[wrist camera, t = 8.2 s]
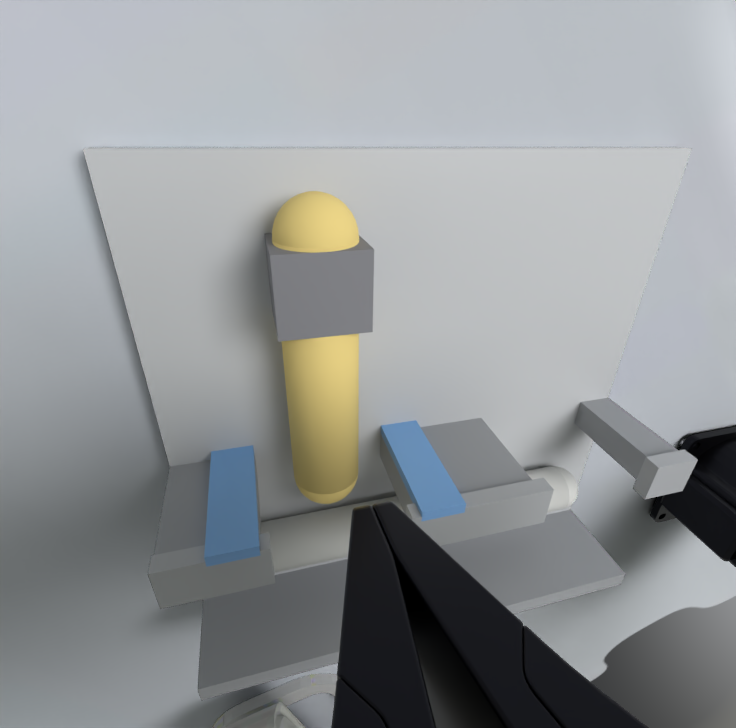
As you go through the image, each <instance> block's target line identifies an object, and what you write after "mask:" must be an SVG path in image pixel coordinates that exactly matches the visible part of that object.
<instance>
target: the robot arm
mask: <svg viewBox="0 0 736 728" xmlns="http://www.w3.org/2000/svg"><path fill="white" fill-rule="evenodd" d="M680 450H686V451H687V452H688V453H690V454H691V455H692V456H694V457H695V458H696V459H698V461H697V463H696V465H695V467H694V469H693V471H692V473H691V475H690V477H689V479H688V481H687V483H686V485H685V487H684V489H683V491H680V492H676V493H672V494H667V495H663V496H658V498H657V500H656V502H655V504H654V506H653V509H652V511H651V513H650V516H651V517H652V518H653V519H654V520H655V521H656V522H662V521H666V520H670V519H674V518H677V519H678V520H679V521H680V522H681V523H682V524H683V525H684V526H686V527H687V528H688V529H689V530H690V531H691V532H692V533H693V534H694V535H695V536H697V537H698V538H699V539H700V540H701V541H702V542H703V543H704V544H705V545H706V546H708V547H709V548H710V549H711V550H712V551H713V552H714V553H715V554H716V555H717V556H719V557H720V558H721V559H722V560H724V561H729V562H730V563H731V564H733V565H734V566H735V567H736V427H731V428H725V429H720V430H715V431H710V432H704V433H699V434H694V435H691V436H689V437H688V438H687V439H686V440H685V441H684V442H683V444H682V446H681V448H680ZM331 728H648V727H647V726H646V725H645V724H643V723H642V722H641V721H639V720H638V719H637V718H635V717H634V716H633V715H632V714H630V713H629V712H628V711H627V710H625V709H624V708H623V707H621V706H620V705H619V704H618V703H616V702H615V701H614V700H612V699H611V698H610V697H609V696H607V695H606V694H605V693H603V692H602V691H601V690H600V689H598V688H597V687H596V686H595V685H594V684H592V683H591V682H590V681H589V680H587V679H586V678H585V677H584V676H582V675H581V674H580V673H579V672H577V671H576V670H575V669H574V668H573V667H571V666H570V665H569V664H568V663H567V662H566V661H564V660H563V659H562V658H561V657H560V656H559V655H558V654H557V653H555V652H554V651H553V650H552V649H551V648H550V647H549V646H548V645H546V644H545V643H544V642H543V641H542V640H541V639H540V638H539V637H538V636H537V635H535V634H534V633H533V632H532V631H531V630H530V629H529V628H528V627H527V626H523V623H522V622H521V621H520V620H519V619H518V618H517V617H516V616H515V615H514V614H513V613H512V612H511V611H509V610H508V609H507V608H506V607H505V606H504V605H503V604H502V603H501V602H500V601H499V600H498V599H497V598H495V597H494V596H493V595H492V594H491V593H490V592H489V591H488V590H487V589H486V588H485V587H484V586H483V585H481V584H480V583H479V582H478V581H477V580H476V579H475V578H474V577H473V576H472V575H471V574H470V573H469V572H467V571H466V570H465V569H464V568H463V567H462V566H461V565H460V564H459V563H458V562H457V561H456V560H454V559H453V558H452V557H451V556H450V555H449V554H448V553H447V552H446V551H445V550H444V549H443V548H442V547H440V546H439V545H438V544H437V543H436V542H435V541H434V540H433V539H432V538H431V537H430V536H429V535H428V534H426V533H425V532H424V531H423V530H422V529H421V528H420V527H419V526H418V525H417V524H416V523H415V522H414V521H412V520H411V519H410V518H409V517H408V516H407V515H406V514H405V513H404V512H403V511H402V510H401V509H399V508H398V507H397V506H396V505H395V504H394V503H393V502H391V501H386V502H381V503H376V504H373V505H372V506H371V505H365V506H360V507H355V508H354V509H353V510H352V517H351V528H350V539H349V550H348V561H347V572H346V583H345V594H344V605H343V616H342V627H341V638H340V649H339V660H338V671H337V681H336V690H335V701H334V711H333V719H332V727H331Z"/></svg>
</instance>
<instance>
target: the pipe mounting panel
mask: <svg viewBox="0 0 736 728" xmlns="http://www.w3.org/2000/svg"><path fill="white" fill-rule="evenodd" d="M691 150H692V148H681V147H89V148H85V149H83V151H84V155H85V159H86V162H87V166H88V170H89V173H90V177H91V181H92V184H93V188H94V192H95V195H96V199H97V203H98V206H99V210H100V214H101V217H102V221H103V225H104V228H105V232H106V236H107V239H108V243H109V246H110V250H111V254H112V257H113V261H114V265H115V268H116V272H117V276H118V279H119V283H120V287H121V290H122V294H123V298H124V301H125V305H126V309H127V312H128V316H129V320H130V323H131V327H132V331H133V334H134V338H135V342H136V345H137V349H138V352H139V356H140V360H141V363H142V367H143V371H144V374H145V378H146V382H147V385H148V389H149V393H150V396H151V400H152V404H153V407H154V411H155V415H156V418H157V422H158V426H159V429H160V433H161V437H162V440H163V444H164V448H165V451H166V455H167V458H168V462H169V466H170V468H169V474H168V479H167V485H166V490H165V495H164V501H163V506H162V512H161V517H160V523H159V528H158V534H157V539H156V545H155V550H154V555H152V556H151V559H150V564H149V570H148V577H149V579H150V582H151V585H152V588H153V590H154V593H155V596H156V599H157V601H158V604H159V607H160V609H164V608H168V607H173V606H177V605H182V604H186V603H190V602H195V601H199V600H203V611H202V626H201V642H200V658H199V674H198V693H199V696H200V698H201V700H205V699H209V698H212V697H216V696H220V695H223V694H227V693H230V692H234V691H238V690H241V689H245V688H248V687H252V686H256V685H259V684H263V683H266V682H270V681H274V680H277V679H281V678H285V677H288V676H292V675H295V674H299V673H303V672H306V671H310V670H313V669H317V668H321V667H324V666H328V665H332V664H335V663H338V660H339V649H340V638H341V627H342V616H343V605H344V594H345V583H346V572H347V561H348V550H349V539H350V528H351V517H352V510H353V509H354V508H355V507H360V506H365V505H371V506H372V505H373V504H376V503H381V502H386V501H391V502H393V503H394V504H395V505H396V506H397V507H398V508H399V509H401V510H402V511H403V512H404V513H405V514H406V515H407V516H408V517H409V518H410V519H411V520H412V521H414V522H415V523H416V524H417V525H418V526H419V527H420V528H421V529H422V530H423V531H424V532H425V533H426V534H428V535H429V536H430V537H431V538H432V539H433V540H434V541H435V542H436V543H437V544H438V545H439V546H440V547H442V548H443V549H444V550H445V551H446V552H447V553H448V554H449V555H450V556H451V557H452V558H453V559H454V560H456V561H457V562H458V563H459V564H460V565H461V566H462V567H463V568H464V569H465V570H466V571H467V572H469V573H470V574H471V575H472V576H473V577H474V578H475V579H476V580H477V581H478V582H479V583H480V584H481V585H483V586H484V587H485V588H486V589H487V590H488V591H489V592H490V593H491V594H492V595H493V596H494V597H495V598H497V599H498V600H499V601H500V602H501V603H502V604H503V605H504V606H505V607H506V608H507V609H508V610H509V611H511V612H512V613H513V614H516V613H519V612H523V611H527V610H530V609H534V608H537V607H541V606H545V605H548V604H552V603H556V602H559V601H563V600H566V599H570V598H574V597H577V596H581V595H584V594H588V593H592V592H595V591H599V590H602V589H606V588H610V587H613V586H617V585H621V583H622V580H623V578H624V576H625V572H624V571H623V570H622V569H621V568H620V567H619V565H618V564H617V563H616V562H615V561H614V560H613V558H612V557H611V556H610V555H609V554H608V553H607V551H606V550H605V549H604V548H603V547H602V546H601V544H600V543H599V542H598V541H597V540H596V539H595V537H594V536H593V535H592V534H591V533H590V532H589V530H588V529H587V528H586V527H585V526H584V525H583V523H582V522H581V521H580V520H579V519H578V518H577V516H576V515H575V514H574V513H573V512H572V511H571V506H572V504H573V503H574V502H575V500H576V498H577V496H578V486H579V483H580V480H581V477H582V474H583V471H584V468H585V465H586V462H587V459H588V456H589V453H590V450H591V447H592V444H593V441H594V442H596V443H597V444H598V445H599V446H600V447H601V448H602V449H603V450H604V451H605V452H607V453H608V454H609V455H610V456H611V457H612V458H613V459H614V460H615V461H617V462H618V463H619V464H620V465H621V466H622V467H623V468H624V469H625V470H627V471H628V472H629V473H630V474H631V475H632V476H633V477H634V478H635V479H636V482H635V484H634V487H633V489H634V490H635V491H636V492H637V493H638V494H639V495H640V496H641V497H643V498H644V499H649V498H654V497H658V496H663V495H667V494H672V493H676V492H680V491H683V489H684V487H685V485H686V483H687V481H688V479H689V477H690V475H691V473H692V471H693V469H694V467H695V465H696V463H697V461H698V459H696V458H695V457H694V456H692V455H691V454H690V453H688V452H687V451H686V450H679V451H678V450H677V449H676V448H674V447H673V446H672V445H670V444H669V443H668V442H666V441H665V440H664V439H662V438H661V437H660V436H658V435H657V434H656V433H654V432H653V431H652V430H650V429H649V428H648V427H646V426H645V425H644V424H643V423H641V422H640V421H639V420H637V419H636V418H635V417H633V416H632V415H631V414H629V413H628V412H627V411H625V410H624V409H623V408H621V407H620V406H619V405H617V404H616V403H615V402H613V401H612V400H611V399H609V398H608V397H609V394H610V391H611V388H612V385H613V382H614V379H615V376H616V373H617V370H618V367H619V364H620V361H621V358H622V355H623V352H624V349H625V346H626V343H627V340H628V337H629V334H630V331H631V328H632V325H633V323H634V320H635V317H636V314H637V311H638V308H639V305H640V302H641V299H642V296H643V293H644V290H645V287H646V284H647V281H648V278H649V275H650V272H651V269H652V266H653V263H654V260H655V257H656V254H657V251H658V248H659V245H660V242H661V239H662V236H663V234H664V231H665V228H666V225H667V222H668V219H669V216H670V213H671V210H672V207H673V204H674V201H675V198H676V195H677V192H678V189H679V186H680V183H681V180H682V177H683V174H684V171H685V168H686V165H687V162H688V159H689V156H690V153H691ZM308 191H320V192H324V193H328V194H331V195H333V196H335V197H336V198H338V199H340V200H341V201H342V202H343V203H344V204H346V206H347V207H348V208H349V210H350V211H351V212H352V214H353V216H354V218H355V220H356V223H357V226H358V231H359V235H360V236H361V237H362V238H363V239H364V240H365V241H366V242H367V243H368V244H369V245H370V246H371V247H372V248H373V249H374V288H373V332H369V333H359V444H358V478H357V481H356V484H355V486H354V488H353V489H352V491H351V492H350V493H349V494H348V495H347V496H346V497H345V498H343V499H342V500H340V501H337V502H335V503H331V504H320V503H316V502H313V501H311V500H309V499H308V498H306V497H305V496H304V495H303V494H302V493H301V492H300V490H299V488H298V487H297V485H296V482H295V478H294V470H293V459H292V448H291V437H290V427H289V416H288V405H287V394H286V384H285V373H284V362H283V351H282V341H281V342H278V338H277V333H276V328H275V323H274V317H273V312H272V305H271V295H270V286H269V276H268V266H267V256H266V246H265V236H264V234H266V233H272V228H273V223H274V220H275V217H276V215H277V213H278V211H279V210H280V208H281V207H282V206H283V205H284V204H285V203H286V202H287V201H288V200H289V199H290V198H292V197H294V196H296V195H297V194H300V193H304V192H308Z"/></svg>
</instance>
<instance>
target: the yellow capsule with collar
mask: <svg viewBox="0 0 736 728" xmlns="http://www.w3.org/2000/svg"><path fill="white" fill-rule="evenodd" d="M264 236H265V246H266V256H267V266H268V276H269V286H270V295H271V305H272V312H273V317H274V323H275V328H276V333H277V338H278V342H281V341H282V351H283V362H284V373H285V384H286V394H287V405H288V416H289V427H290V437H291V448H292V459H293V470H294V478H295V482H296V485H297V487H298V488H299V490H300V492H301V493H302V494H303V495H304V496H305V497H306V498H308V499H309V500H311V501H313V502H316V503H320V504H331V503H335V502H337V501H340V500H342V499H343V498H345V497H346V496H347V495H348V494H349V493H350V492H351V491H352V489H353V488H354V486H355V484H356V481H357V478H358V444H359V333H369V332H373V288H374V249H373V248H372V247H371V246H370V245H369V244H368V243H367V242H366V241H365V240H364V239H363V238H362V237H361V236H360V235H359V231H358V226H357V223H356V220H355V218H354V216H353V214H352V212H351V211H350V210H349V208H348V207H347V206H346V204H344V203H343V202H342V201H341V200H340V199H338V198H336V197H335V196H333V195H331V194H328V193H324V192H320V191H308V192H304V193H300V194H297V195H296V196H294V197H292V198H290V199H289V200H288V201H287V202H286V203H285V204H284V205H283V206H282V207H281V208H280V210H279V211H278V213H277V215H276V217H275V220H274V223H273V228H272V233H266V234H264Z"/></svg>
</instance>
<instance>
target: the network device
mask: <svg viewBox="0 0 736 728" xmlns="http://www.w3.org/2000/svg"><path fill="white" fill-rule="evenodd" d="M336 681H337V675H336V674H331V673H320V674H313V675H308V676H304V677H300V678H297V679H295V680H292V681H290V682H287V683H285V684H283V685H281V686H278V687H276V688H274V689H272V690H269V691H267V692H265V693H263V694H260V695H258V696H256V697H254V698H251V699H249V700H247V701H245V702H242V703H240V704H238V705H236V706H234V707H232V708H231V709H229V710H228V711H226V712H225V713H224V714H223V715H222V716H220V717H219V718H218V719H217V721H216V722H215V724H214V725H213V728H306V727H305V726H304V725H303V724H302V723H301V722H300V721H299V720H298V719H297V718H296V717H295V716H294V714H293V713H292V712H291V711H290V710H289V709H288V708H287V706H289V705H291V704H293V703H295V702H298V701H300V700H302V699H304V698H307V697H309V696H311V695H314V694H319V693H330V694H332V695H334V696H335V690H336Z"/></svg>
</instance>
